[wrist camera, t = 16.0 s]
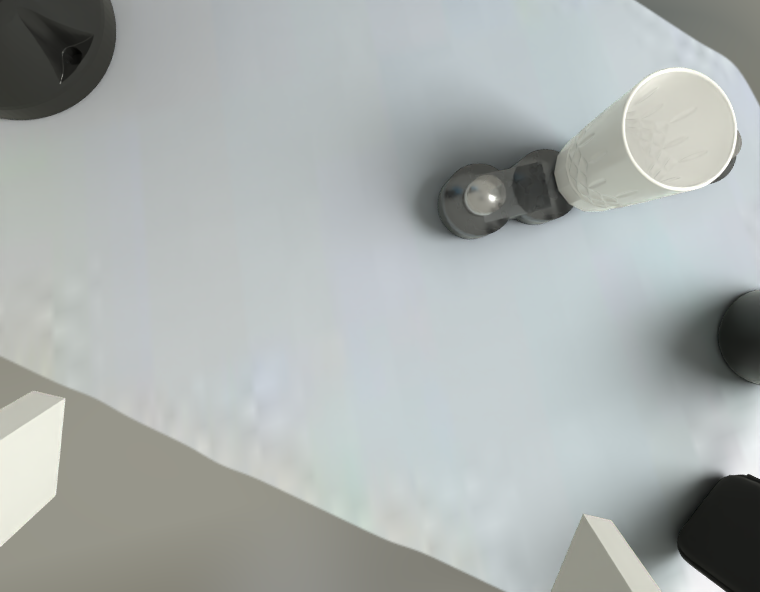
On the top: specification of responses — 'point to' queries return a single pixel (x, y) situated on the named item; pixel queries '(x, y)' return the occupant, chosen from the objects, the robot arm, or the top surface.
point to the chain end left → (502, 196)
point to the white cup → (650, 143)
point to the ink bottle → (742, 336)
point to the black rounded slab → (726, 535)
